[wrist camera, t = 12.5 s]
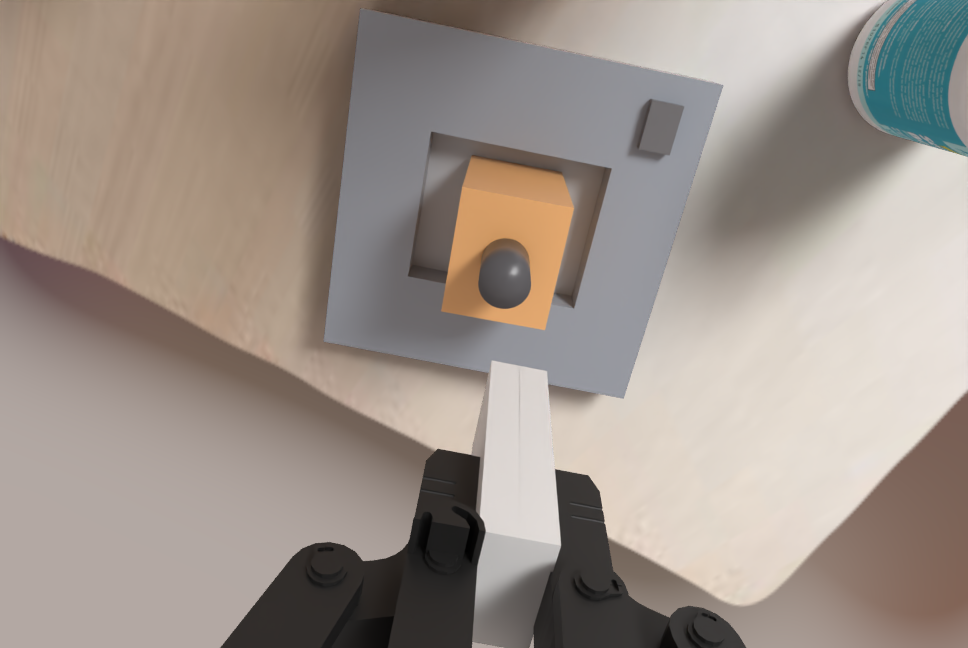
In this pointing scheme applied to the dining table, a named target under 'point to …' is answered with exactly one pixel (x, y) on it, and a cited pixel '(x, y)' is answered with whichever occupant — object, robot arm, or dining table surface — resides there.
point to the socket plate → (517, 139)
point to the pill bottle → (914, 72)
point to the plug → (508, 243)
